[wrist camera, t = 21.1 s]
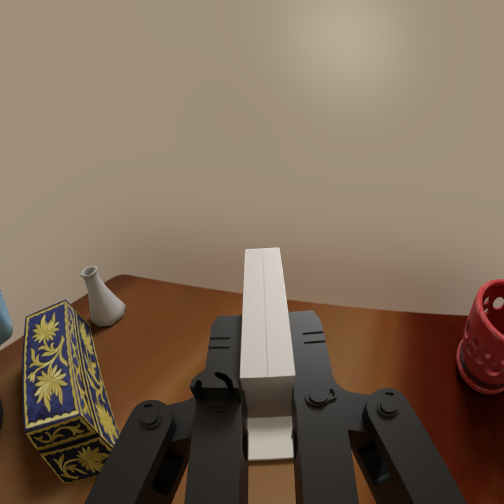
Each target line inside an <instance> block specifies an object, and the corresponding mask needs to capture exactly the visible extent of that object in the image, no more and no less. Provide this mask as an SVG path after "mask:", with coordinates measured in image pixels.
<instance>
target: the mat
mask: <svg viewBox="0 0 504 504" xmlns="http://www.w3.org/2000/svg"><path fill="white" fill-rule="evenodd" d="M247 428H248V433H249V449H248V461H260V460H281V459H294V458H293V442H292V439H291V434H292V416H286V417H268V418H248V424H247Z"/></svg>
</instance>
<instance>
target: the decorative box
mask: <svg viewBox="0 0 504 504" xmlns="http://www.w3.org/2000/svg"><path fill="white" fill-rule="evenodd" d="M22 403H23V420H24V431H25V434H26V435H27V437H28V438H29V440H30V441H31V442H32V444H33V445H34V447H35V448H36V449H37V451H38V452H39V453H40V455H41V456H42V457H43V459H44V460H45V461H46V462H47V464H48V465H49V466H50V467H51V469H52V470H53V471H54V472H55V474H56V475H57V476H58V477H59V478H60V479H61V481H62V482H63V483H64V484H66V483H71V482H76V481H80V480H85V479H89V478H93V477H97V476H99V474H100V472H101V470H102V468H103V466H104V464H105V462H106V460H107V458H108V456H109V454H110V452H111V450H112V448H113V446H114V444H115V443H116V441H117V439H118V437H119V435H120V433H119V430H118V427H117V425H116V422H115V419H114V416H113V413H112V410H111V407H110V404H109V400H108V397H107V394H106V390H105V387H104V383H103V380H102V376H101V372H100V368H99V364H98V360H97V356H96V352H95V347H94V343H93V338H92V333H91V328H90V323H89V322H88V321H87V320H85V319H84V318H83V317H82V316H81V315H80V314H79V313H78V312H77V311H76V310H75V309H74V308H73V307H72V306H71V305H70V304H69V303H68V302H67V300H64V301H61V302H59V303H57V304H54V305H52V306H49V307H47V308H45V309H43V310H40V311H38V312H36V313H33V314H31V315H29V316H27V317H26V321H25V330H24V341H23V359H22Z"/></svg>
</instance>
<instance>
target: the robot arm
mask: <svg viewBox="0 0 504 504" xmlns="http://www.w3.org/2000/svg"><path fill="white" fill-rule="evenodd" d="M245 251H246V252H245V270H244V292H243V315H239V316H218V317H217V319H216V320H215V322H214V323H213V325H212V326H211V332H210V340H209V346H208V347H209V349H208V354H207V361H206V368H205V370H204V371H202V372H200V373H198V374H197V375H196V377H195V378H194V379H193V380H192V382H191V385H190V389H191V391H192V393H193V395H194V397H192V398H191V399H189V400H186V401H184V402H179V403H175V404H171V405H166V404H164V403H162V402H161V401H158V400H147V401H143V402H142V403H140V404H138V405H137V406H136V407H135V408H134V410H133V411H132V412H131V414H130V416H129V418H128V420H127V422H126V424H125V426H124V427H123V429H122V431H121V433H120V435H119V437H118V439H117V441H116V443H115V444H114V446H113V448H112V450H111V452H110V454H109V456H108V458H107V460H106V462H105V464H104V466H103V468H102V470H101V472H100V474H99V476H98V477H97V479H96V481H95V483H94V485H93V487H92V489H91V491H90V493H89V495H88V497H87V499H86V502H85V504H171V503H172V501H173V498H174V496H175V494H176V491H177V489H178V486H179V484H180V481H181V479H182V476H183V474H184V472H185V469H186V467H187V464H188V462H189V464H188V473H187V483H186V493H185V503H184V504H248V449H249V433H248V428H247V424H248V418H268V417H286V416H292V434H291V439H292V442H293V458H294V474H295V492H296V504H359V501H358V494H357V486H356V479H355V472H354V466H353V459H352V453H351V450H352V452H353V454H354V456H355V458H356V460H357V462H358V464H359V467H360V469H361V471H362V473H363V475H364V477H365V479H366V482H367V484H368V486H369V488H370V490H371V492H372V495H373V497H374V499H375V501H376V503H377V504H467V503H466V501H465V500H464V498H463V496H462V494H461V492H460V490H459V488H458V486H457V484H456V483H455V481H454V479H453V477H452V475H451V473H450V472H449V470H448V468H447V466H446V464H445V463H444V461H443V459H442V457H441V456H440V454H439V452H438V450H437V449H436V447H435V445H434V444H433V442H432V440H431V438H430V437H429V435H428V433H427V432H426V430H425V428H424V427H423V425H422V423H421V422H420V420H419V418H418V417H417V415H416V413H415V412H414V410H413V409H412V407H411V405H410V404H409V402H408V400H407V399H406V397H405V396H404V395H403V394H402V393H401V392H399V391H397V390H395V389H390V388H384V389H379V390H377V391H376V392H374V393H373V394H372V395H365V394H358V393H352V392H349V391H346V390H344V389H342V388H341V387H340V386H339V385H338V384H337V383H336V381H335V380H334V378H333V375H332V370H331V365H330V361H329V356H328V351H327V347H326V342H325V337H324V333H323V329H322V324H321V320H320V319H319V317H318V316H317V315H316V314H315V313H314V311H313V310H312V311H299V312H288V308H287V300H286V292H285V284H284V277H283V269H282V263H281V255H280V248H263V249H246V250H245ZM12 333H13V327H12V322H11V318H10V315H9V312H8V309H7V307H6V304H5V301H4V299H3V296H2V293H1V291H0V345H1V344H3V343H4V342H5V341H7V340H8V339H9V338H10V337H11V335H12ZM2 418H3V407H2V402H1V399H0V428H1V424H2Z"/></svg>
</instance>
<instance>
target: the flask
mask: <svg viewBox="0 0 504 504" xmlns="http://www.w3.org/2000/svg"><path fill="white" fill-rule="evenodd" d="M97 271H98V268H97V267H95V266H89V267H87V268H85V269H84V270H83V271H82V272H81V274H80V275H81V277H83V278H84V280H85V283H86V286H87V290H88V297H89V307H90V319H91V322H93V323H94V324H96V325H97V326H99V327H101V326H112V325H113V324H114V323H116V322H117V321H118V320H119V319H120V318H121V317H122V316H123V314H124V310H125V307H126V305H125V304H124V303H122V302H121V301H120V300H119V299H118V298H117V297H116V296H115V295H114V294H113V293H112V292H111V291H110V290H109V289H108V288H107V287H106V286H105V285H104V283H103V282H102V280H101V279H100V277H99V275H98V272H97Z"/></svg>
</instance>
